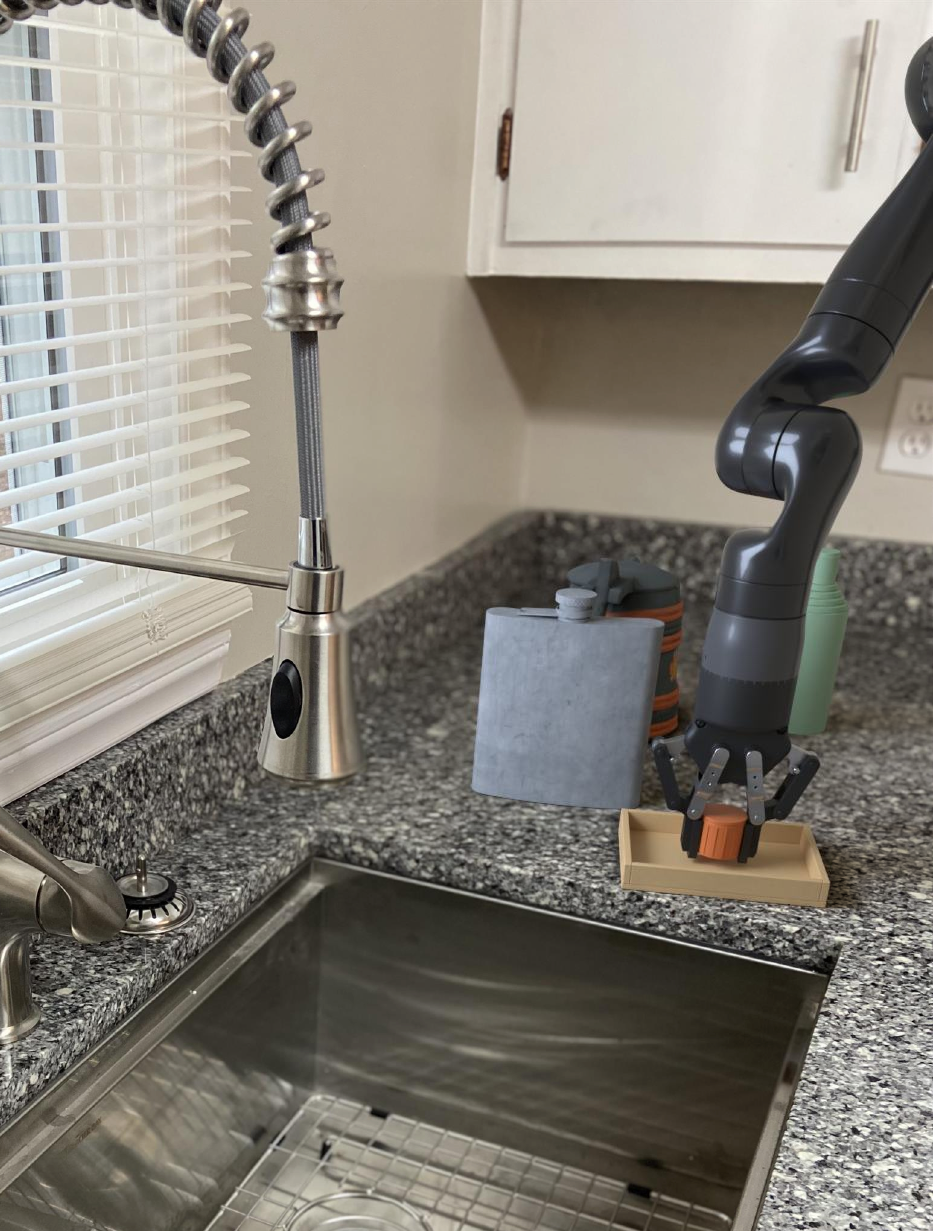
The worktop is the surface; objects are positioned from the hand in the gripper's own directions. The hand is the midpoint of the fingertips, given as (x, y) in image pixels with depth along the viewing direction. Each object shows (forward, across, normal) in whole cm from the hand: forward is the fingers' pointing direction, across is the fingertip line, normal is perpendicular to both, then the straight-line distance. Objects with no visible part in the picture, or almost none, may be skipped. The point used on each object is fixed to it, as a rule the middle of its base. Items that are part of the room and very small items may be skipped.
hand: (716, 856), depth 121 cm
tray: (+1, 0, 0) cm, 1 cm away
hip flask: (+1, -14, +13) cm, 19 cm away
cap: (-1, 0, 0) cm, 1 cm away
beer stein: (+1, -9, +34) cm, 35 cm away
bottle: (+1, +11, +37) cm, 38 cm away
